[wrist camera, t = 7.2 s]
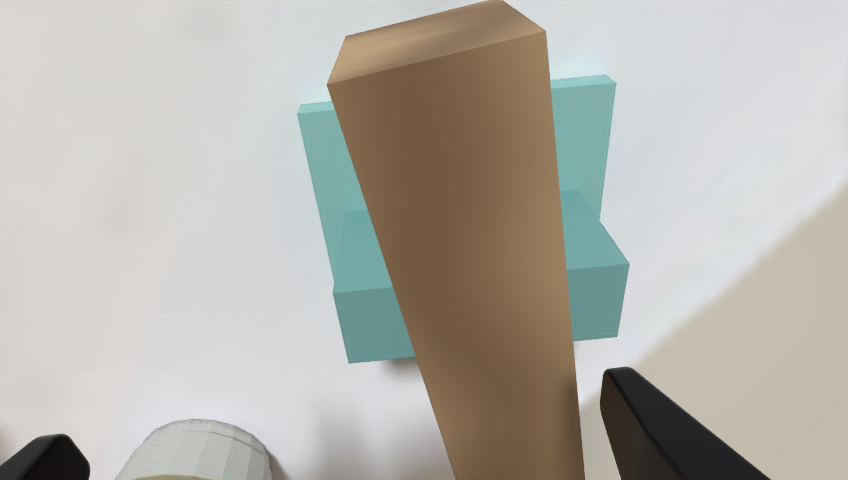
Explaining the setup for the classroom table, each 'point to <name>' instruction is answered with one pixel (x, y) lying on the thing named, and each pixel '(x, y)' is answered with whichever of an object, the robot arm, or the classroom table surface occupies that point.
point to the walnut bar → (471, 228)
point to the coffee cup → (198, 454)
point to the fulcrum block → (583, 232)
